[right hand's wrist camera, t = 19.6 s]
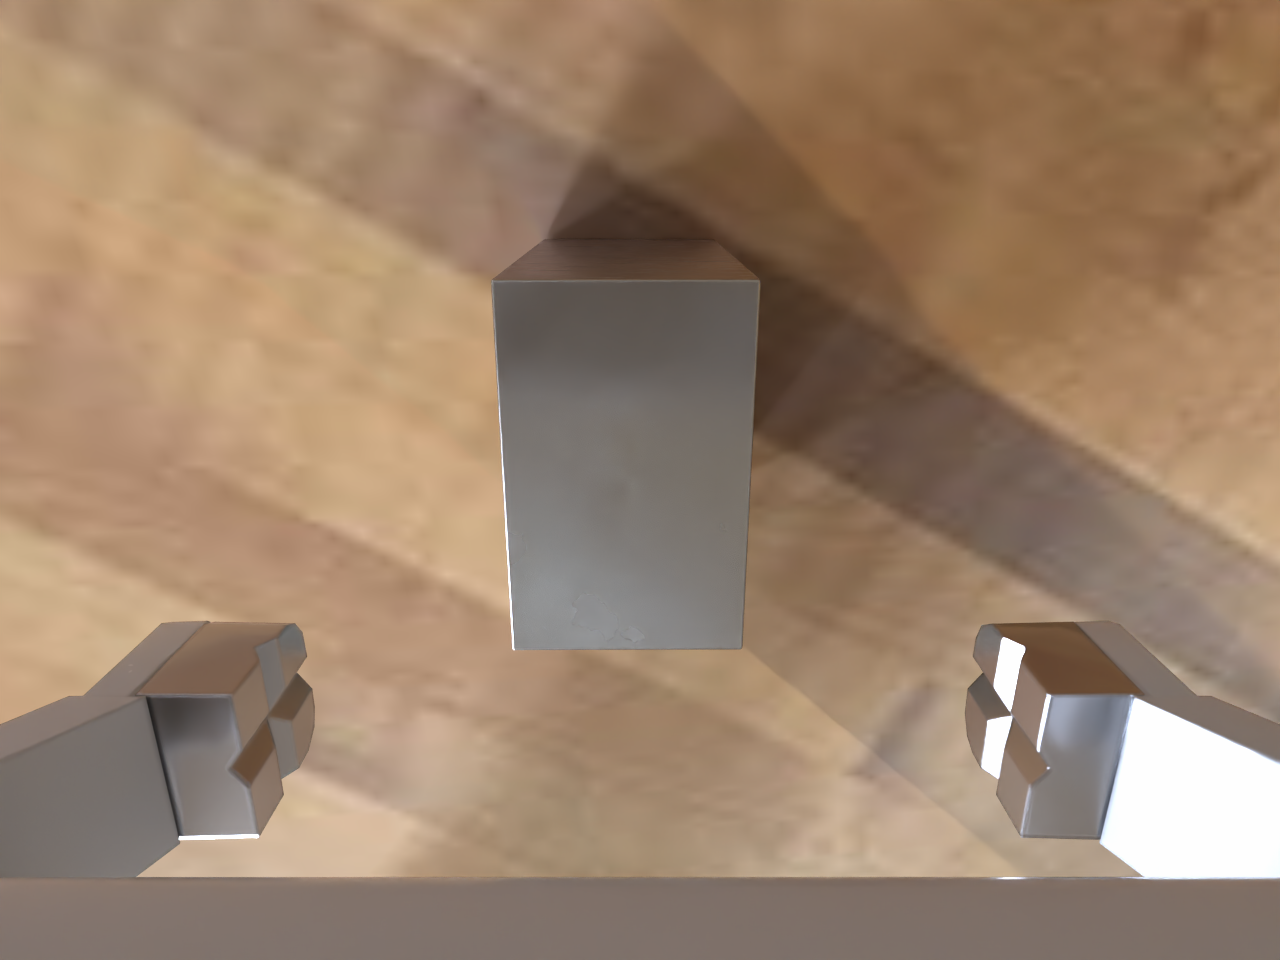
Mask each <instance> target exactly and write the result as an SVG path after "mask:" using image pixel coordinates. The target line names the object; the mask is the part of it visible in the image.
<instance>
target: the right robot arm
mask: <svg viewBox="0 0 1280 960" xmlns="http://www.w3.org/2000/svg"><path fill="white" fill-rule="evenodd" d="M306 657H307V653H306V648H305V643H304V638H303V633H302V631H301V630H300V629H299V628H298V626H297V625H296V624H295V623H250V622H209V621H187V622H168V623H161V624H160V625H159V626H158V627H157V628H156V629H155V630H154V631H153V632H152V633H151V634H149V635H148V636H147V637H146V638H145V639H144V640H143V641H142V642H141V643H140V644H139V645H138V646H137V647H135V648H134V649H133V650H132V651H131V652H130V653H129V654H128V655H127V656H126V657H125V658H124V659H122V660H121V661H120V662H119V663H118V664H117V665H116V666H115V667H114V668H113V669H112V670H111V671H109V672H108V673H107V674H106V675H105V676H104V677H103V678H102V679H101V680H100V681H99V682H98V683H96V684H95V685H94V686H93V687H92V688H91V689H90V690H89V691H88V692H87V693H86V694H85V695H84V696H68V697H65V698H63V699H61V700H58V701H56V702H53V703H51V704H48V705H46V706H44V707H41V708H39V709H36V710H34V711H32V712H29V713H27V714H24V715H22V716H19V717H17V718H15V719H12V720H10V721H7V722H5V723H2V724H0V960H1280V724H1277V723H1275V722H1273V721H1270V720H1268V719H1265V718H1263V717H1260V716H1258V715H1256V714H1253V713H1251V712H1248V711H1246V710H1244V709H1241V708H1239V707H1236V706H1234V705H1231V704H1229V703H1227V702H1224V701H1222V700H1219V699H1217V698H1215V697H1212V696H1197V695H1195V694H1194V693H1193V692H1192V691H1191V690H1190V689H1189V688H1188V687H1187V686H1186V685H1185V684H1184V683H1183V682H1181V681H1180V680H1179V679H1178V678H1177V677H1176V676H1175V675H1174V674H1173V673H1172V672H1171V671H1170V670H1169V669H1167V668H1166V667H1165V666H1164V665H1163V664H1162V663H1161V662H1160V661H1159V660H1158V659H1157V658H1156V657H1154V656H1153V655H1152V654H1151V653H1150V652H1149V651H1148V650H1147V649H1146V648H1145V647H1144V646H1143V645H1142V644H1140V643H1139V642H1138V641H1137V640H1136V639H1135V638H1134V637H1133V636H1132V635H1131V634H1130V633H1129V632H1128V631H1126V630H1125V629H1124V628H1123V627H1122V626H1121V625H1120V624H1117V623H1114V622H1111V621H1091V622H1045V623H1004V624H987V625H982V626H981V628H980V630H979V632H978V635H977V637H976V641H975V647H974V653H973V657H974V659H975V660H976V662H977V664H978V665H979V667H980V668H981V670H982V671H983V673H982V674H981V675H980V676H979V677H978V678H977V680H976V681H975V682H974V683H973V684H972V685H971V686H970V687H969V688H968V691H967V699H966V708H965V719H966V729H967V737H968V740H969V743H970V747H971V750H972V753H973V755H974V756H975V758H976V760H977V762H978V764H979V766H980V767H981V768H982V769H983V770H985V771H987V772H988V773H990V774H991V775H993V776H995V777H996V778H998V779H999V780H998V786H997V792H996V795H997V797H998V799H999V800H1000V802H1001V804H1002V806H1003V807H1004V809H1005V811H1006V812H1007V814H1008V816H1009V818H1010V819H1011V821H1012V823H1013V824H1014V826H1015V828H1016V830H1017V831H1018V833H1019V835H1020V836H1021V838H1057V839H1094V840H1100V844H1102V845H1103V846H1104V847H1105V848H1107V849H1108V850H1109V851H1111V852H1112V853H1113V854H1115V855H1116V856H1117V857H1119V858H1120V859H1121V860H1123V861H1124V862H1125V863H1127V864H1128V865H1129V866H1131V867H1132V868H1133V869H1135V870H1136V871H1137V872H1139V873H1140V874H1141V875H1143V876H1144V877H136V876H138V875H139V874H140V873H142V872H143V871H144V870H146V869H147V868H148V867H150V866H151V865H152V864H154V863H155V862H156V861H158V860H159V859H160V858H162V857H163V856H164V855H166V854H167V853H168V852H170V851H171V850H172V849H174V848H175V847H176V846H177V845H179V844H180V840H186V839H221V838H256V837H260V835H261V833H262V831H263V830H264V828H265V826H266V825H267V823H268V821H269V819H270V818H271V816H272V814H273V812H274V811H275V809H276V807H277V806H278V804H279V802H280V800H281V799H282V797H283V795H284V792H283V786H282V780H281V779H282V778H284V777H285V776H287V775H289V774H290V773H292V772H293V771H295V770H297V769H298V768H299V767H300V766H301V764H302V762H303V760H304V758H305V756H306V754H307V753H308V751H309V747H310V743H311V739H312V735H313V730H314V721H315V705H314V698H313V691H312V688H311V687H310V686H309V685H308V684H307V683H306V682H305V681H304V680H303V678H302V677H301V676H300V675H299V674H298V673H297V671H298V670H299V668H300V667H301V665H302V664H303V662H304V660H305V659H306Z"/></svg>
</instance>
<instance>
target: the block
mask: <svg viewBox="0 0 1280 960" xmlns="http://www.w3.org/2000/svg"><path fill="white" fill-rule="evenodd" d="M760 286H761V281H760V279H758V278H757V277H756V276H755V275H754V274H753V273H752V272H750V271H749V270H748V269H747V268H746V267H745V266H744V265H742V264H741V263H740V262H739V261H738V260H737V259H736V258H735V257H733V256H732V255H731V254H730V253H729V252H728V251H727V250H725V249H724V248H723V247H722V246H721V245H720V244H719V243H717V242H716V241H715V240H714V239H544V240H543V241H541V242H540V243H539V244H537V245H536V246H535V247H534V248H532V249H531V250H530V251H528V252H527V253H526V254H525V255H523V256H522V257H521V258H519V259H518V260H517V261H515V262H514V263H513V264H512V265H510V266H509V267H508V268H506V269H505V270H504V271H502V272H501V273H500V274H499V275H497V276H496V277H495V278H493V279H492V280H491V290H492V307H493V324H494V341H495V358H496V375H497V391H498V408H499V425H500V442H501V459H502V476H503V493H504V510H505V527H506V543H507V560H508V577H509V594H510V611H511V628H512V645H513V649H514V650H672V649H742V646H743V626H744V606H745V586H746V566H747V546H748V526H749V506H750V486H751V466H752V446H753V426H754V406H755V386H756V366H757V346H758V326H759V306H760Z"/></svg>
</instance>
